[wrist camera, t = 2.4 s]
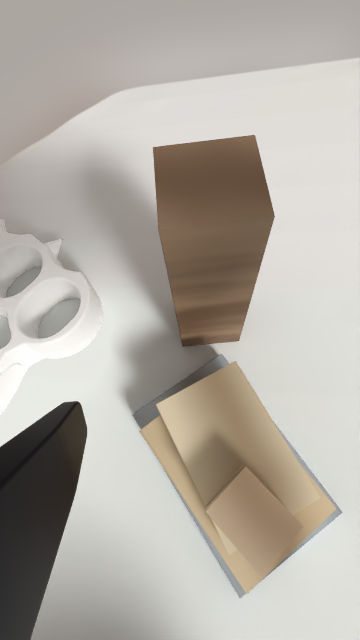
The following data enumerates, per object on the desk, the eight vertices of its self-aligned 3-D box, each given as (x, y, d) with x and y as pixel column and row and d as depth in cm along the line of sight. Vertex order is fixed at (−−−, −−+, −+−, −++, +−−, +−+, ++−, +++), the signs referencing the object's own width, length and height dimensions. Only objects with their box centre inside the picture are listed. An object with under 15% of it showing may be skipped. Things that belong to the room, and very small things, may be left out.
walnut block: (238, 340, 23) (274, 216, 11) (182, 346, 23) (158, 229, 11) (231, 291, 25) (254, 134, 13) (178, 296, 25) (153, 147, 13)
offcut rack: (238, 591, 18) (252, 649, 12) (135, 416, 22) (112, 402, 16) (335, 509, 19) (387, 530, 13) (220, 357, 23) (225, 327, 17)
